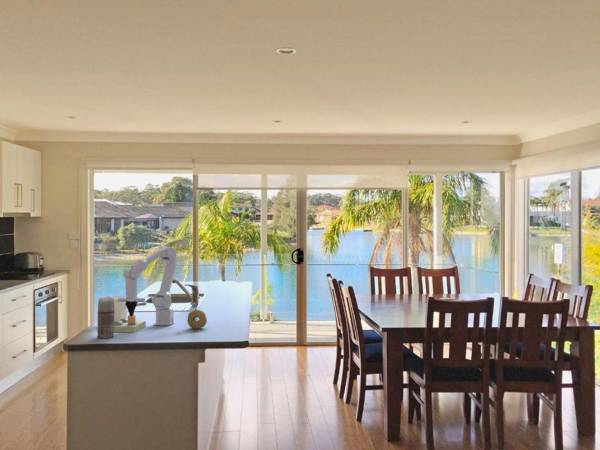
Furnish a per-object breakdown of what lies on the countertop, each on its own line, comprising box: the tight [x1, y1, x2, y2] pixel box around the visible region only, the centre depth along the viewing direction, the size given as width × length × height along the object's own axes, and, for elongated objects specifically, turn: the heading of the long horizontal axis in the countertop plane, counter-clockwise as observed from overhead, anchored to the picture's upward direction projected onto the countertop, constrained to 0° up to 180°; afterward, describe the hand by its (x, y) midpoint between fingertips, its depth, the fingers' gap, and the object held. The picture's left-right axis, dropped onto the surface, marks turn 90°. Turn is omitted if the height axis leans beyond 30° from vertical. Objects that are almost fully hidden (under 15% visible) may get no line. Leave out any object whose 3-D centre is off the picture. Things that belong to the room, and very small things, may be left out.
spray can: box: [96, 296, 115, 339], centre depth 275 cm, size 8×8×20 cm
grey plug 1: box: [114, 321, 122, 326], centre depth 291 cm, size 4×4×4 cm
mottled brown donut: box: [187, 309, 208, 330], centre depth 295 cm, size 10×4×10 cm, turn 87°
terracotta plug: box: [127, 314, 137, 325], centre depth 292 cm, size 4×4×4 cm
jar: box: [110, 295, 129, 321], centre depth 310 cm, size 11×10×15 cm
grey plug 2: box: [120, 317, 128, 323], centre depth 299 cm, size 4×4×4 cm
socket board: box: [114, 320, 147, 333], centre depth 294 cm, size 15×15×3 cm
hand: (131, 315), depth 292 cm, fingers closed
